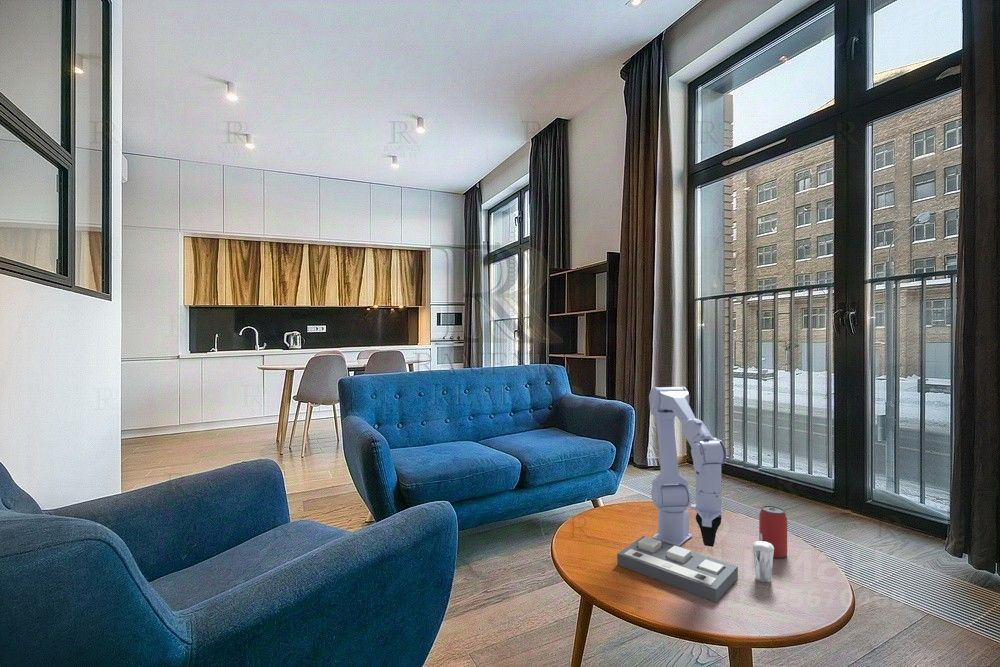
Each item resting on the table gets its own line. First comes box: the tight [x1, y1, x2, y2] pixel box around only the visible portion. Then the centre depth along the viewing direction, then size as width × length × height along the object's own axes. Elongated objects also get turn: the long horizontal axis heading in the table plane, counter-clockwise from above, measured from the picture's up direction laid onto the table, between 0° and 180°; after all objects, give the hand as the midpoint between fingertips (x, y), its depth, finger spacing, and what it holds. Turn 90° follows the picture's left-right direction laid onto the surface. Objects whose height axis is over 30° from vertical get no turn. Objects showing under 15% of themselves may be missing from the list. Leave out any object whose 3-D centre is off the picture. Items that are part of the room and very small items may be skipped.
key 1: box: [638, 536, 662, 554], centre depth 129 cm, size 4×4×3 cm
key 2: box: [698, 559, 724, 575], centre depth 118 cm, size 4×4×3 cm
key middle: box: [667, 545, 692, 564], centre depth 123 cm, size 4×4×3 cm
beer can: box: [758, 504, 788, 559], centre depth 131 cm, size 7×7×12 cm
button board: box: [616, 535, 739, 603], centre depth 122 cm, size 14×25×3 cm, turn 46°
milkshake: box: [752, 533, 774, 584], centre depth 118 cm, size 4×5×10 cm
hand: (708, 544), depth 118 cm, fingers closed
